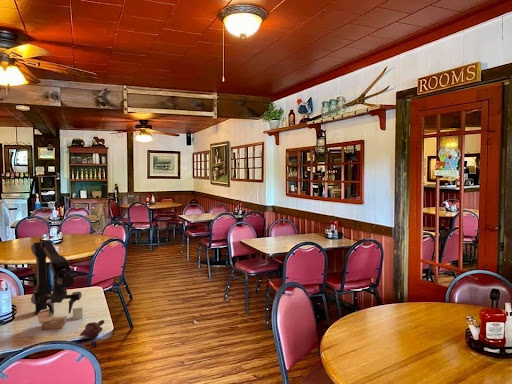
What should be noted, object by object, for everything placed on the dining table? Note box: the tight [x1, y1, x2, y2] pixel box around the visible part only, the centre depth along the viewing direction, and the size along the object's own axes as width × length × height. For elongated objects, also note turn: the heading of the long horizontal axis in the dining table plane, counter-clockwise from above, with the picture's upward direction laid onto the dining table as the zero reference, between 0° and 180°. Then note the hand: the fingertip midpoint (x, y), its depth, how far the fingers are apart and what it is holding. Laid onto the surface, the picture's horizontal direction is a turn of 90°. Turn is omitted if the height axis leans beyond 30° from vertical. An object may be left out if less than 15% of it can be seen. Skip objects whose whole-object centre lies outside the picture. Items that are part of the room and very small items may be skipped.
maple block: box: [36, 308, 54, 324], centre depth 191 cm, size 5×5×5 cm
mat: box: [17, 314, 88, 339], centre depth 194 cm, size 22×26×1 cm
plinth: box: [42, 315, 67, 330], centre depth 193 cm, size 9×9×3 cm
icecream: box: [79, 319, 105, 338], centre depth 182 cm, size 7×7×15 cm
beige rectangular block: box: [72, 304, 84, 320], centre depth 203 cm, size 4×4×6 cm
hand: (61, 314), depth 193 cm, fingers open, 7 cm apart
